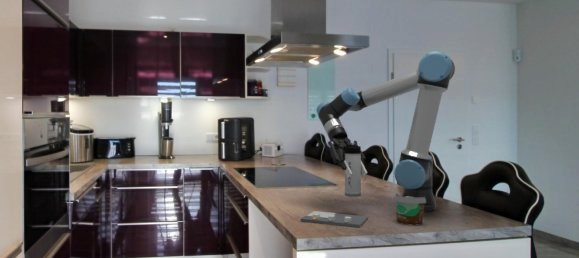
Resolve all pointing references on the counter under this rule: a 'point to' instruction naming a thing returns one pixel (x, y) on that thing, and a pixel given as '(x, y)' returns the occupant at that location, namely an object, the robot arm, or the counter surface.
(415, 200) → the food container
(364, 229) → the counter surface
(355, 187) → the travel mug
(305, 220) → the breaker panel
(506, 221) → the counter surface
